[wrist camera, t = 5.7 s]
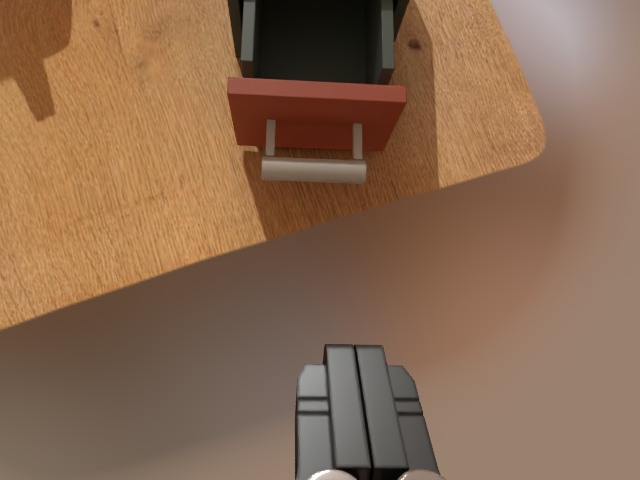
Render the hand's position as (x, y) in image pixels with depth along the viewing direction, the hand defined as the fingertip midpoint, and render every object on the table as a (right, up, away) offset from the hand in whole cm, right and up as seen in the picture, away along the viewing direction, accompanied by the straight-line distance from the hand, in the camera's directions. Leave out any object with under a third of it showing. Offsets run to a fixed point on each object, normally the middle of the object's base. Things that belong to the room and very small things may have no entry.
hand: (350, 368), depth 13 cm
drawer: (-1, +15, +27) cm, 31 cm away
